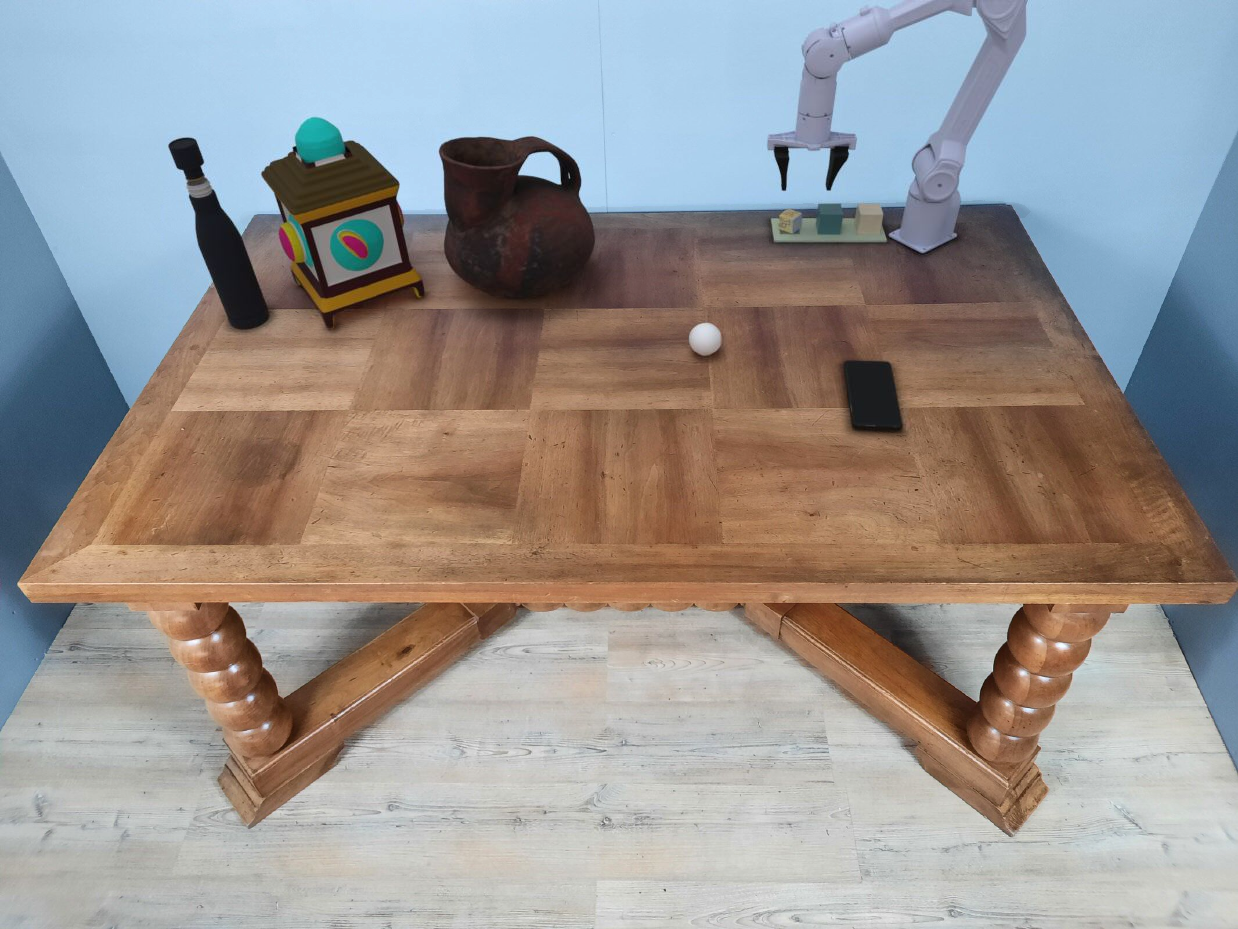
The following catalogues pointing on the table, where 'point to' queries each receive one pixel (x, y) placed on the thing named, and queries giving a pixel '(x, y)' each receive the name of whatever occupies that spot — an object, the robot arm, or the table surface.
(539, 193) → the jug
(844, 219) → the word mat
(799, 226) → the alphabet block
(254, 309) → the wine bottle
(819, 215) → the teal cube
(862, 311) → the table surface
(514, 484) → the table surface
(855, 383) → the smartphone
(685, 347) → the table surface
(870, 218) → the beige cube block
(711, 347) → the white ping pong ball
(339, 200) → the decorative lantern
